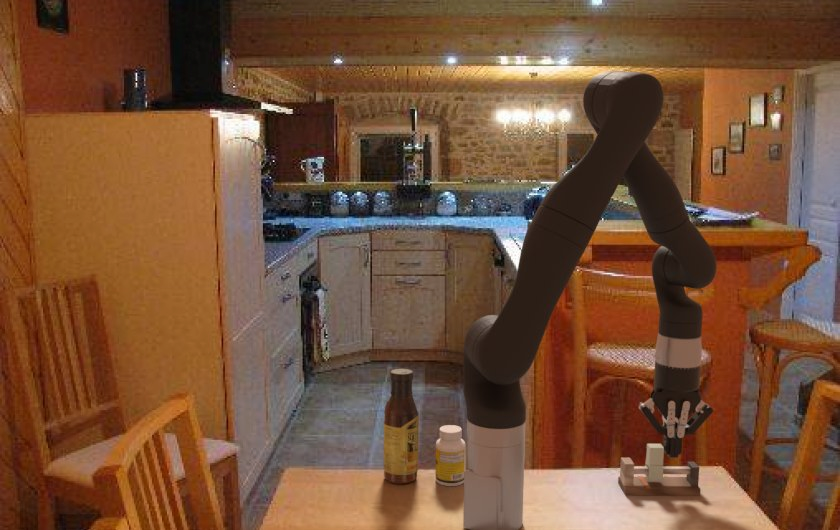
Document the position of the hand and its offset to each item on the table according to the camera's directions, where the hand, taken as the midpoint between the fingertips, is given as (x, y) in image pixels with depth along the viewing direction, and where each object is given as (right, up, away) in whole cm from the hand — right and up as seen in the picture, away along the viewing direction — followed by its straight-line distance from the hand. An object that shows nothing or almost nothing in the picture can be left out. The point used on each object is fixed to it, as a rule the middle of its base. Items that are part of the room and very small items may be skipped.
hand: (672, 456), depth 143 cm
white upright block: (-3, -4, +1) cm, 5 cm away
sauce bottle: (-48, -5, +5) cm, 48 cm away
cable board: (-2, -6, +1) cm, 7 cm away
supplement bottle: (-39, -6, +4) cm, 39 cm away
